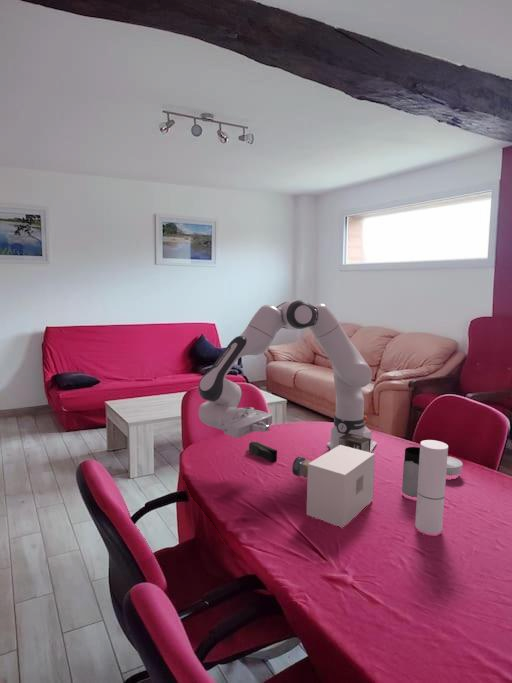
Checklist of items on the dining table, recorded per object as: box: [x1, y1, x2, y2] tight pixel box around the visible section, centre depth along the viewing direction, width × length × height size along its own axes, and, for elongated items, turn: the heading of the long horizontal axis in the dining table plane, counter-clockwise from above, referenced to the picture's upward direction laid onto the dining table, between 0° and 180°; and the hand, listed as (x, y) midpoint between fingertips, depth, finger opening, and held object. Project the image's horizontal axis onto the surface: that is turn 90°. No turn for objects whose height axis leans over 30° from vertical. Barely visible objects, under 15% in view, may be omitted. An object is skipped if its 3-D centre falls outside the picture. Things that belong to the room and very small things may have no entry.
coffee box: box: [339, 433, 372, 452], centre depth 158 cm, size 9×6×16 cm
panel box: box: [306, 445, 376, 528], centre depth 140 cm, size 20×12×16 cm, turn 142°
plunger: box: [291, 456, 313, 479], centre depth 145 cm, size 6×15×6 cm, turn 52°
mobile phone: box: [245, 441, 278, 463], centre depth 181 cm, size 5×3×15 cm
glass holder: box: [401, 446, 420, 497], centre depth 152 cm, size 9×14×15 cm, turn 137°
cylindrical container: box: [414, 439, 449, 534], centre depth 129 cm, size 7×7×25 cm
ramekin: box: [446, 456, 464, 476], centre depth 166 cm, size 11×11×5 cm
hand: (267, 428), depth 156 cm, fingers closed
